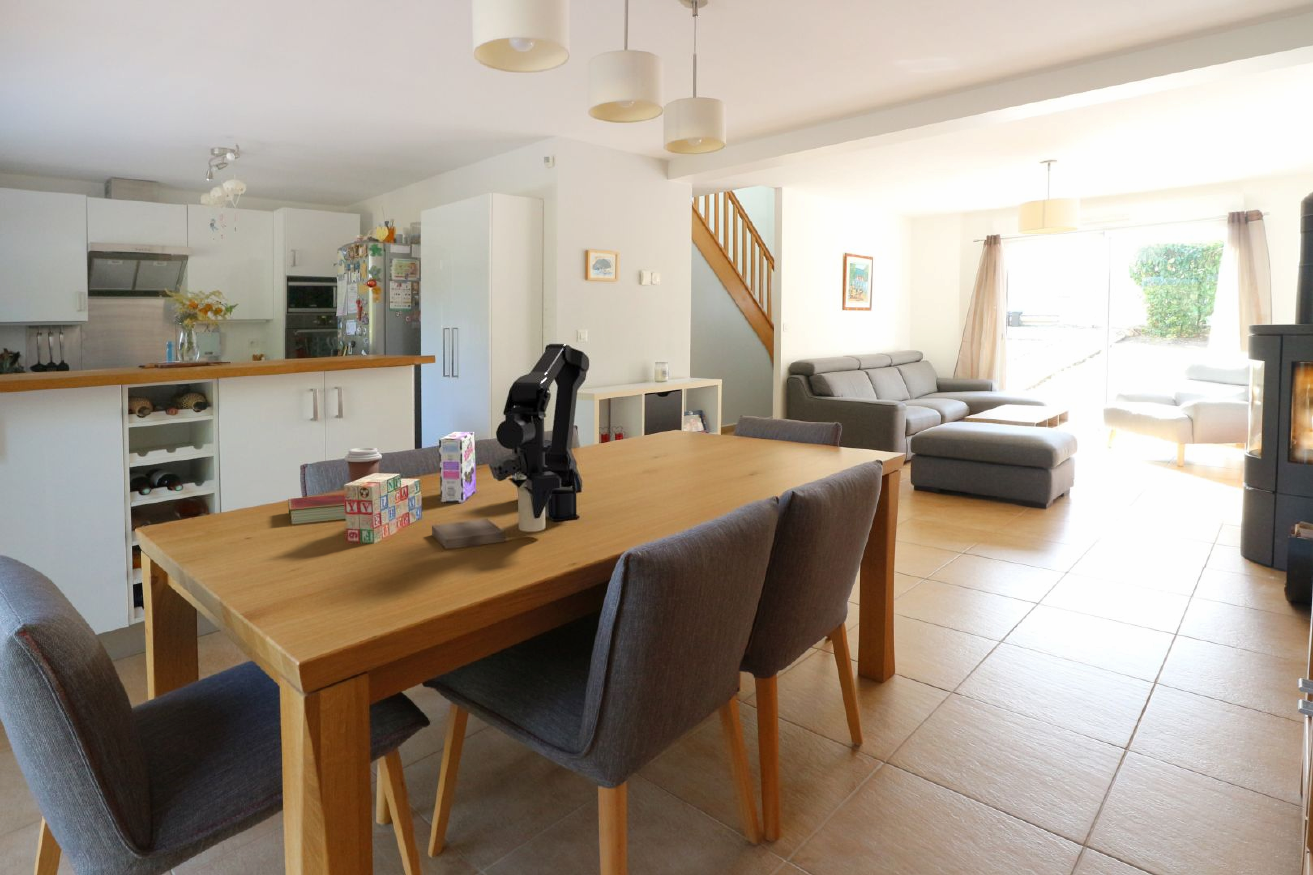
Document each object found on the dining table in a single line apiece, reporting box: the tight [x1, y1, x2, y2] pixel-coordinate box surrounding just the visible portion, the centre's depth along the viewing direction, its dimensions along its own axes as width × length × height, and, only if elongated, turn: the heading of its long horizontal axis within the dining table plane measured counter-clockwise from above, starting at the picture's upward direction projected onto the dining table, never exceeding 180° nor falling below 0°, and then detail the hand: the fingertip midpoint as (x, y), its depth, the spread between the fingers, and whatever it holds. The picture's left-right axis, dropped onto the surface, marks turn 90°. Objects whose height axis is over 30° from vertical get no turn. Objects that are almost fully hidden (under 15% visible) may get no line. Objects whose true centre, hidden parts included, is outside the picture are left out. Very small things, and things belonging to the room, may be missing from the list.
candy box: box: [438, 431, 477, 504], centre depth 195 cm, size 14×6×16 cm, turn 179°
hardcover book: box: [287, 493, 346, 525], centre depth 178 cm, size 12×21×4 cm, turn 117°
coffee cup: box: [344, 446, 383, 483], centre depth 197 cm, size 9×9×12 cm
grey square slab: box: [431, 518, 506, 550], centre depth 158 cm, size 12×12×2 cm
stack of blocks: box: [343, 472, 423, 544], centre depth 164 cm, size 21×6×12 cm, turn 171°
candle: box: [517, 481, 546, 533], centre depth 158 cm, size 6×6×10 cm
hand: (531, 515), depth 158 cm, fingers closed on candle, 5 cm apart
